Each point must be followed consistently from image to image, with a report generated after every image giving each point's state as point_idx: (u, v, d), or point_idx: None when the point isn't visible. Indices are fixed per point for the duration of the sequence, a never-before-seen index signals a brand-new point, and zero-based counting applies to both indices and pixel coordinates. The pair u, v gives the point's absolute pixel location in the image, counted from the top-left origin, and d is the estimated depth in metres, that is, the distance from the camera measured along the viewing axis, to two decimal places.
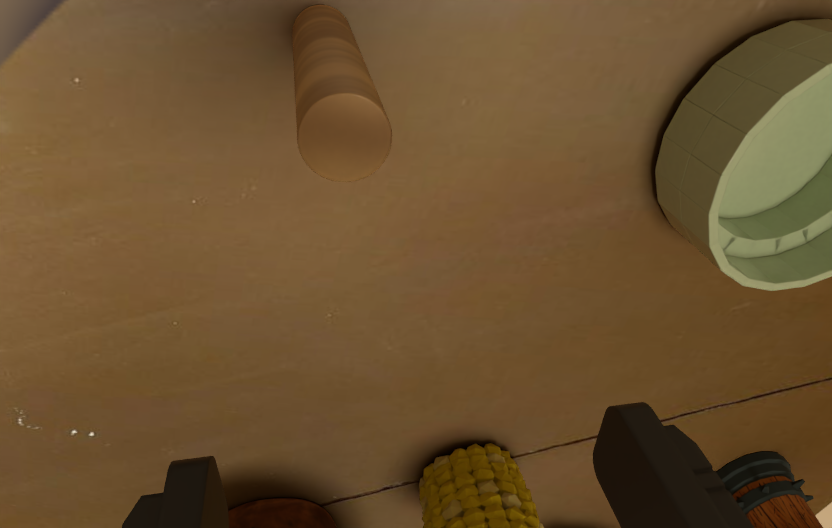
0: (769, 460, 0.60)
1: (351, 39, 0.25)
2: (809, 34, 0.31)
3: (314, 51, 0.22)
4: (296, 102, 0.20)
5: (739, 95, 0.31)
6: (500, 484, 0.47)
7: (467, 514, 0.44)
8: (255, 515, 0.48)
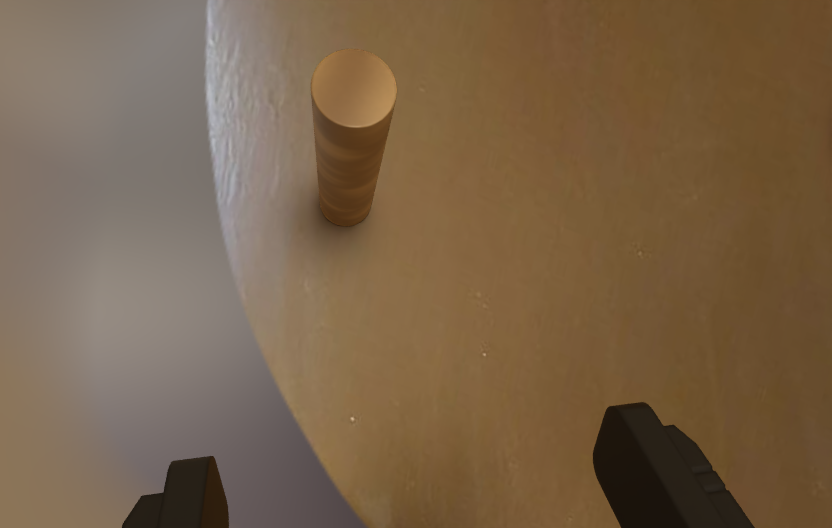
0: None
1: None
2: None
3: (316, 155, 0.25)
4: (337, 152, 0.22)
5: None
6: None
7: None
8: None
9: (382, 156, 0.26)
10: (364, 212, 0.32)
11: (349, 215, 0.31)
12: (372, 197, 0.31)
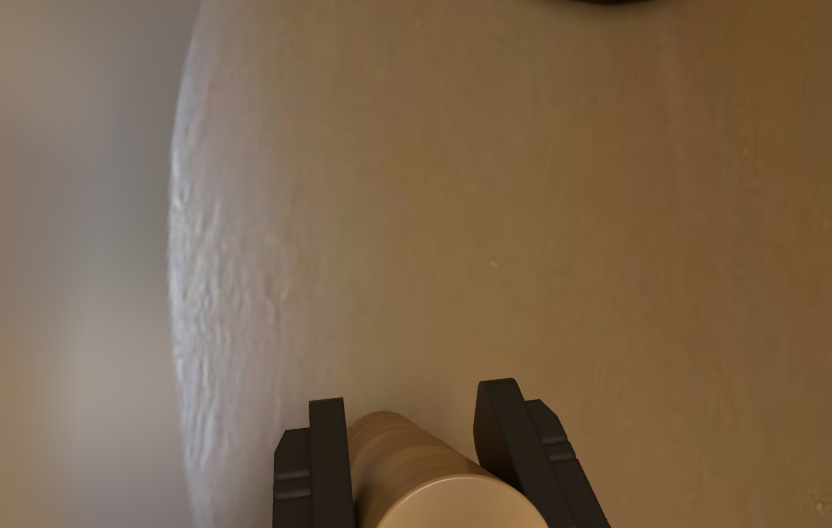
0: None
1: (365, 437, 0.17)
2: None
3: None
4: None
5: None
6: None
7: None
8: None
9: None
10: None
11: None
12: None
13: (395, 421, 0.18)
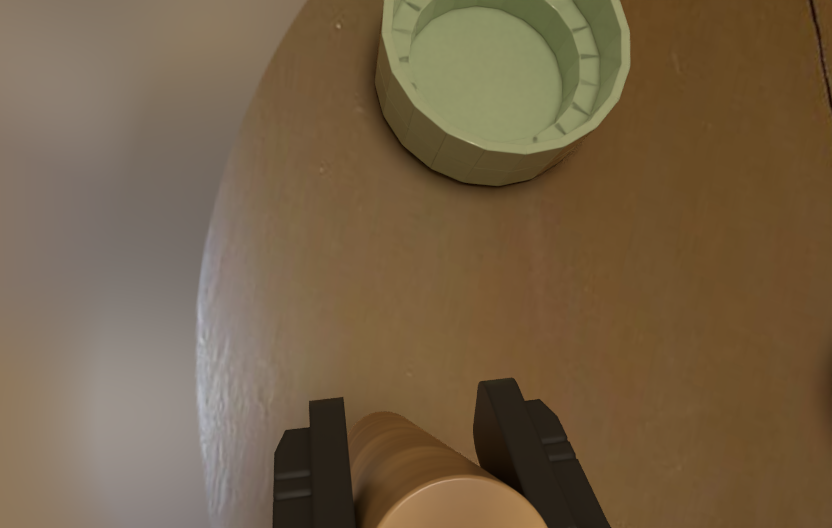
0: None
1: (365, 438, 0.17)
2: (379, 74, 0.37)
3: None
4: None
5: (420, 133, 0.35)
6: None
7: None
8: None
9: None
10: None
11: None
12: None
13: (395, 421, 0.18)
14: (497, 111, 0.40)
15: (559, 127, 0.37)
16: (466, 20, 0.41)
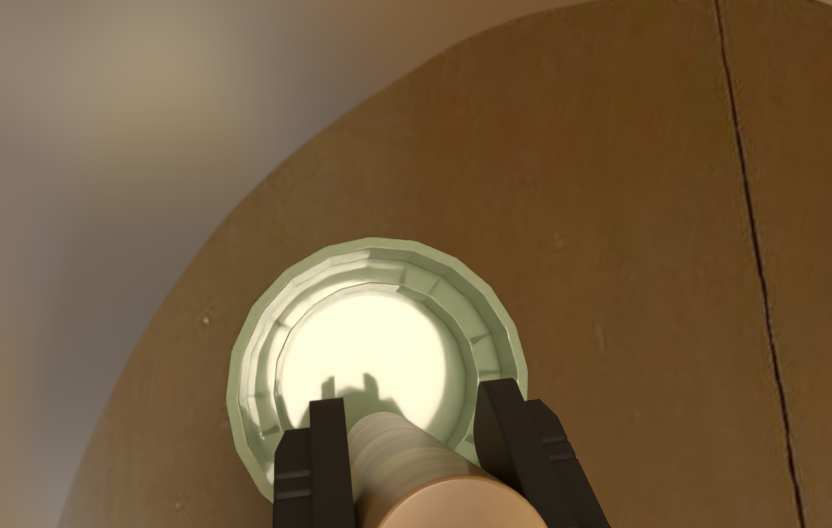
0: None
1: (365, 438, 0.17)
2: None
3: None
4: None
5: None
6: None
7: None
8: None
9: None
10: None
11: None
12: None
13: (395, 422, 0.18)
14: None
15: None
16: (355, 308, 0.36)
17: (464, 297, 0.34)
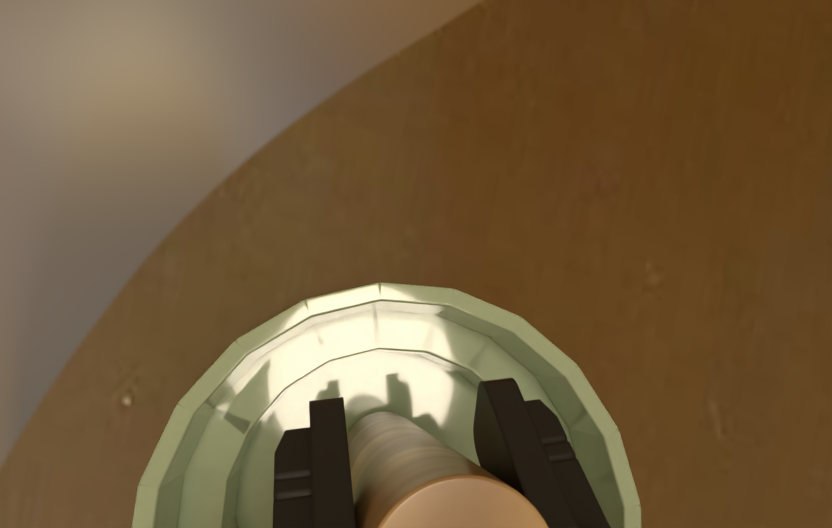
0: None
1: (365, 438, 0.17)
2: None
3: None
4: None
5: None
6: None
7: None
8: None
9: None
10: None
11: None
12: None
13: (396, 422, 0.18)
14: None
15: None
16: (355, 380, 0.23)
17: (526, 370, 0.21)
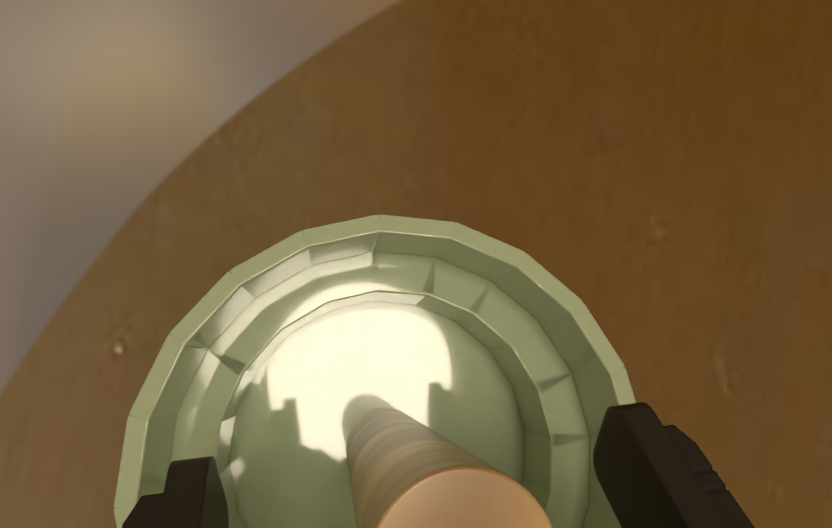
0: None
1: (368, 433, 0.17)
2: None
3: None
4: None
5: None
6: None
7: None
8: None
9: None
10: None
11: None
12: None
13: (398, 418, 0.18)
14: None
15: None
16: (354, 329, 0.23)
17: (529, 315, 0.21)
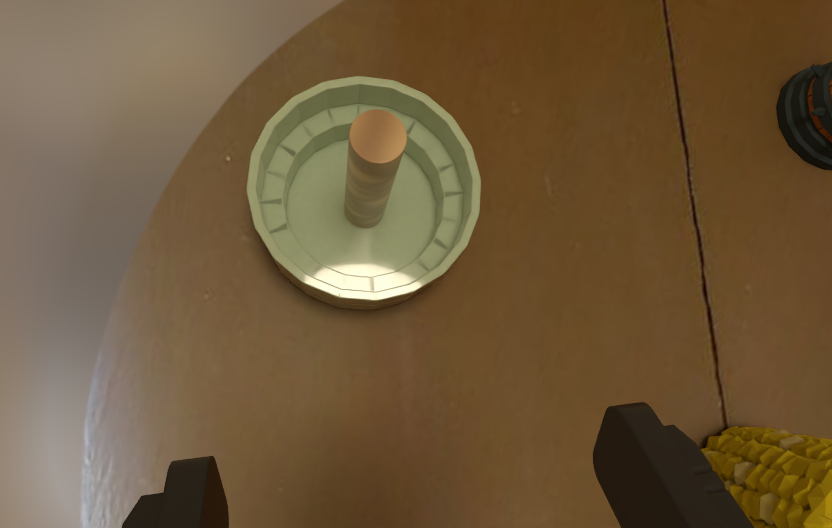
0: (787, 100, 0.50)
1: None
2: None
3: (347, 178, 0.35)
4: (365, 177, 0.32)
5: (287, 273, 0.38)
6: (725, 475, 0.39)
7: None
8: None
9: None
10: (379, 218, 0.42)
11: (368, 220, 0.41)
12: (385, 206, 0.41)
13: None
14: (373, 238, 0.43)
15: (421, 263, 0.40)
16: None
17: (434, 136, 0.42)
